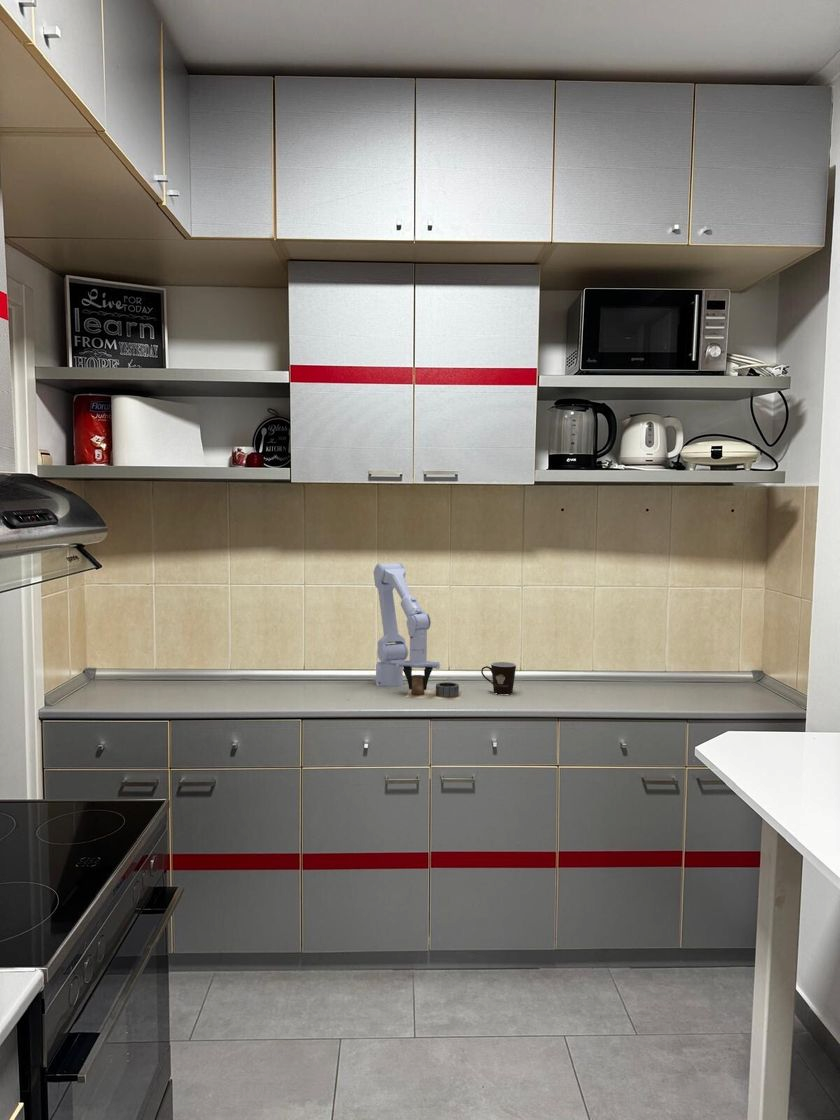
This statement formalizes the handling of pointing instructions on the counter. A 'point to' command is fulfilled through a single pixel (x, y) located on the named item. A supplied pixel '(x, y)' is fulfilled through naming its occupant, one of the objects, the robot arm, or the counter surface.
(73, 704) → the counter surface
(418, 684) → the plug
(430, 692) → the board
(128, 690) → the counter surface
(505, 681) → the coffee mug
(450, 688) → the sleeve
